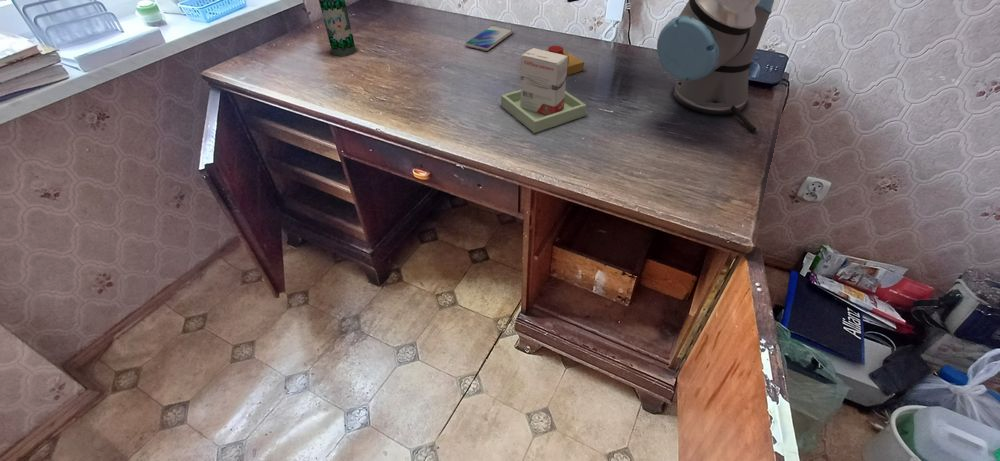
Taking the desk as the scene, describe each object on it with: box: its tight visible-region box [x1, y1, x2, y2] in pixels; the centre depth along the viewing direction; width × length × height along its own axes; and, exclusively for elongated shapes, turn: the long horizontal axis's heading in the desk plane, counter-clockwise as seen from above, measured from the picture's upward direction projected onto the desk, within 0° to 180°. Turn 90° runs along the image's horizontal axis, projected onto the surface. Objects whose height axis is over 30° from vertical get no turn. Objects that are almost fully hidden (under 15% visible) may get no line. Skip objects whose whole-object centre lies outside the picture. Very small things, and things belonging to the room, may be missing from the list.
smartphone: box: [465, 25, 514, 52], centre depth 129 cm, size 7×1×15 cm
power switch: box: [544, 49, 585, 76], centre depth 114 cm, size 8×12×4 cm, turn 121°
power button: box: [547, 45, 564, 55], centre depth 113 cm, size 4×4×2 cm
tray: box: [500, 89, 587, 134], centre depth 100 cm, size 13×13×3 cm
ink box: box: [520, 47, 568, 116], centre depth 97 cm, size 9×5×12 cm, turn 58°
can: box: [318, 0, 357, 57], centre depth 120 cm, size 6×6×15 cm
